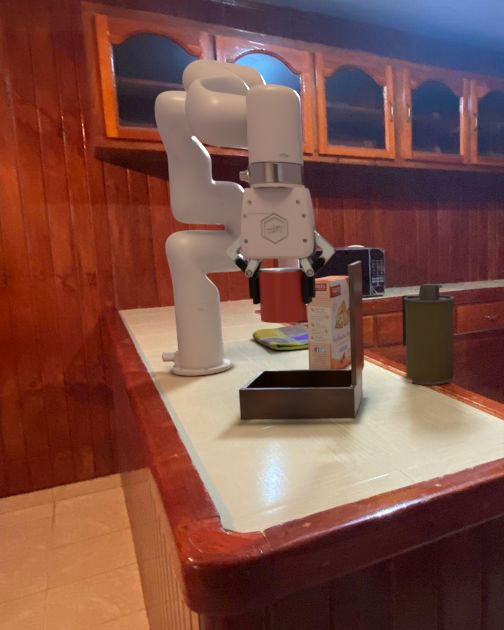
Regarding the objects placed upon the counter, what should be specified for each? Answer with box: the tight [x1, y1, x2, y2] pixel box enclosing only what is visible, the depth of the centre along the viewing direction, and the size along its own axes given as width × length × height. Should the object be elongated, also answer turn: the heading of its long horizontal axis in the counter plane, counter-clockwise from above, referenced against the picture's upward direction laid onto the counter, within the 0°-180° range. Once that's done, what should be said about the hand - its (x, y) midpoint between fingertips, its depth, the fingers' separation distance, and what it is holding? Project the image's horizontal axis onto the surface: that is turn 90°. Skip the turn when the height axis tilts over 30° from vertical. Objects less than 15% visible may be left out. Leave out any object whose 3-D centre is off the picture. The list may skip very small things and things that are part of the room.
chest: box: [238, 368, 364, 421], centre depth 92 cm, size 19×13×6 cm
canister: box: [401, 283, 456, 386], centre depth 111 cm, size 11×10×20 cm
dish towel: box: [252, 324, 309, 351], centre depth 152 cm, size 18×24×3 cm
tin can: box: [258, 267, 308, 324], centre depth 78 cm, size 7×7×8 cm
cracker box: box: [306, 275, 351, 370], centre depth 120 cm, size 14×6×21 cm, turn 168°
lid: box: [347, 260, 365, 386], centre depth 90 cm, size 19×13×1 cm
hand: (283, 302), depth 78 cm, fingers closed on tin can, 6 cm apart
